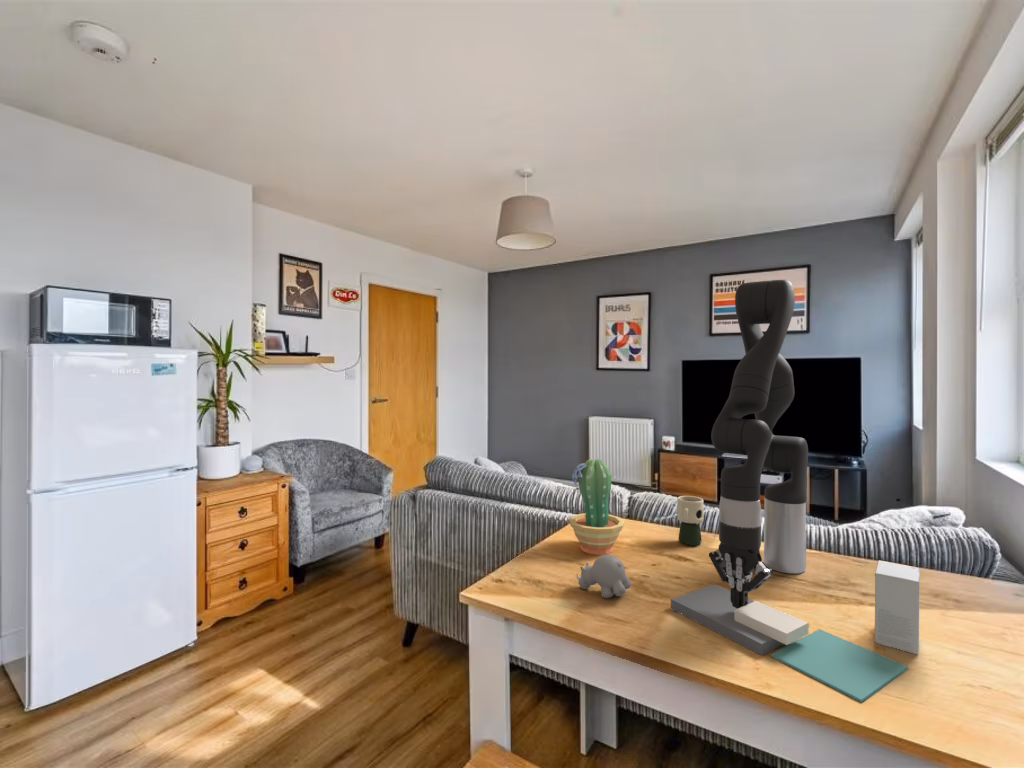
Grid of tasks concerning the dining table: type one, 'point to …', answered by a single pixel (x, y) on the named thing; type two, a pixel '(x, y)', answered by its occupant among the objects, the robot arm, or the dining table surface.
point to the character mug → (690, 519)
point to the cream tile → (771, 622)
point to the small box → (897, 606)
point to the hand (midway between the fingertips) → (738, 607)
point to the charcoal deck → (721, 617)
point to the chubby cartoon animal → (605, 576)
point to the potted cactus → (595, 509)
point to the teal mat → (840, 664)
